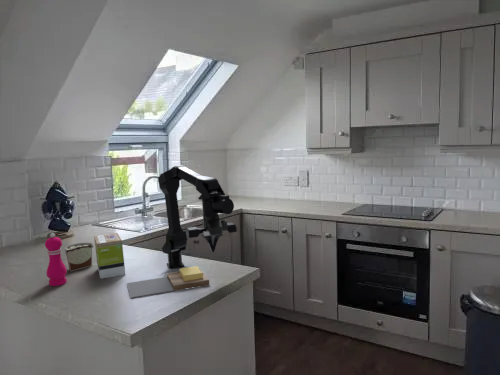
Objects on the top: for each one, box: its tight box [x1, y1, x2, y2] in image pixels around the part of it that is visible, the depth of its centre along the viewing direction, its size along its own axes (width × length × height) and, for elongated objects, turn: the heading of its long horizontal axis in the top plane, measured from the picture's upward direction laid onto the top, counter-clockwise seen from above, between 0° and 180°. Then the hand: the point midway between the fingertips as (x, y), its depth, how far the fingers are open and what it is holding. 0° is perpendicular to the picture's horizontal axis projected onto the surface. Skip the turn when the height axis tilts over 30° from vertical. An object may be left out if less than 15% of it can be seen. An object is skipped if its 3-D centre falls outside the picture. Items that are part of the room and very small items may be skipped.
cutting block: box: [166, 267, 210, 292], centre depth 164 cm, size 15×13×2 cm
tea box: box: [93, 232, 126, 279], centre depth 180 cm, size 15×10×15 cm, turn 23°
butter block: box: [178, 265, 204, 281], centre depth 164 cm, size 9×7×2 cm
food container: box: [63, 242, 94, 272], centre depth 189 cm, size 12×6×10 cm, turn 135°
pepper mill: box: [44, 232, 68, 287], centre depth 168 cm, size 7×7×20 cm
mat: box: [126, 276, 175, 300], centre depth 159 cm, size 16×15×1 cm
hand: (212, 251), depth 166 cm, fingers closed
